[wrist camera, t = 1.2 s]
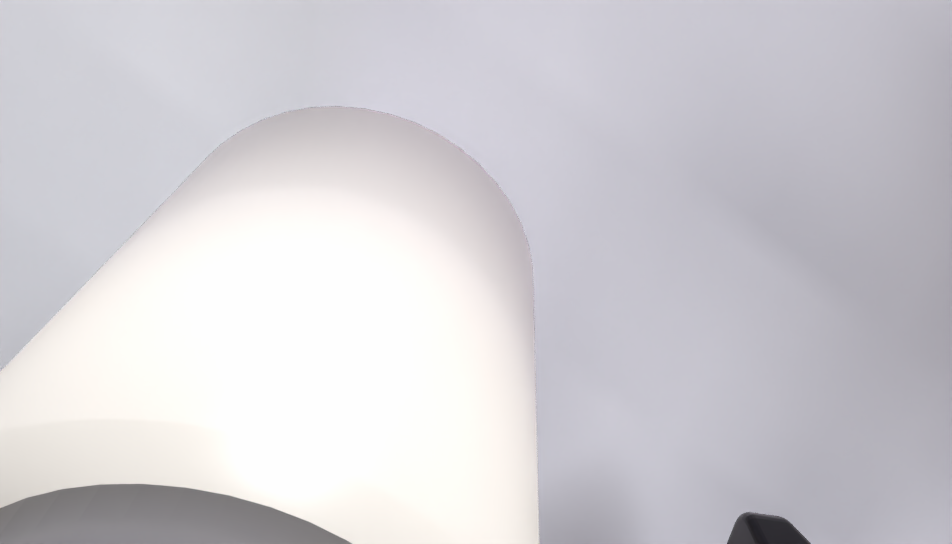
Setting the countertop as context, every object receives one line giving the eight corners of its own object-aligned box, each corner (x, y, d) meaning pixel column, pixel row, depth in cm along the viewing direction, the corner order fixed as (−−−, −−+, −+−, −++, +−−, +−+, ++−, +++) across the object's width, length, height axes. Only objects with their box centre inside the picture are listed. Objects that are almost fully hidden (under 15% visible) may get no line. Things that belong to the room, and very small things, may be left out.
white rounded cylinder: (504, 445, 12) (485, 1052, 6) (179, 401, 12) (-167, 974, 6) (564, 137, 10) (630, 631, 4) (159, 79, 10) (-438, 490, 4)
